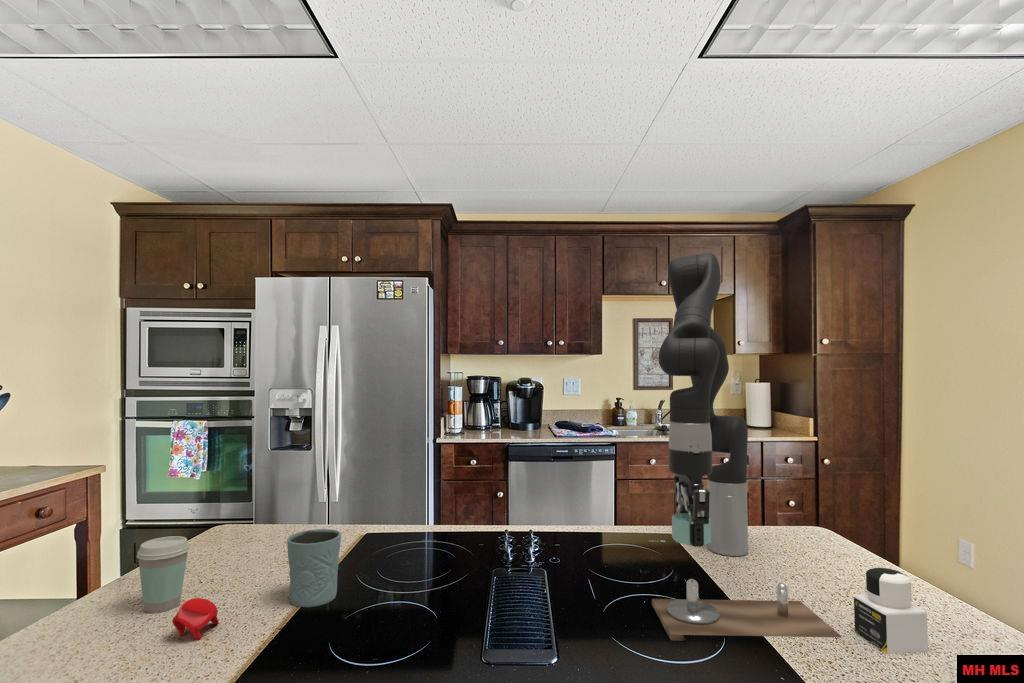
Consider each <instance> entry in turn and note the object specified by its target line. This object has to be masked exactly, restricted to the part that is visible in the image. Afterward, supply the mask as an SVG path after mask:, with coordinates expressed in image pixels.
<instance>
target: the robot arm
mask: <svg viewBox="0 0 1024 683" xmlns="http://www.w3.org/2000/svg"><path fill="white" fill-rule="evenodd" d="M667 276H668V282H669V285H670V286H669V287H670V289H671V294H672V297H673V302H674V306H675V307H676V308H675V309H676V311H675V314H674V319H673V327H672V329H671V330H670V331H669V333H668V334H667V336H666V337H665V338H664V340H663V341H662V343H661V346H660V348H659V352H658V364H659V367H660V369H661V370H662V372H664V373H665V374H666V375H668V376H672V377H690V381H691V384H692V386H690V387H685V388H680V389H679V388H678V389H675V390H673V391H671V393H670V395H669V428H668V470H669V472H670V473H672V474H675V475H673V481H674V482H673V484H674V506H675V508H677V514H678V513H689V522H690V544H691V545H690V546H692V547H698V548H699V547H704V546H705V545H704V525H705V524H709V519H710V520H711V543H708V544H707V545H708V549H709V550H710V551H711V552H713V553H715V554H718V555H722V556H723V555H724V556H731V557H732V556H733V557H741V556H745V555H747V554H749V532H748V531H749V527H748V524H749V522H748V521H749V520H748V515H749V514H748V484H747V483H748V480H747V479H748V476H747V475H748V474H747V473H748V445H749V444H748V442H749V440H748V439H749V435H748V434H749V432H748V425H747V421H746V420H745V418H743V417H741V416H735V415H733V416H732V415H719V414H718V415H717V414H715V412H714V403H715V400H716V397H717V395H718V393H719V391H720V389H721V388H722V386H723V385H724V382H726V381H725V380H727V379H726V378H727V377H728V375H729V374H728V373H729V370H730V369H729V368H730V366H729V358H728V354H727V348H726V344H725V342H724V341H723V339H722V337H721V336H720V335H719V333H717V331H715V329H714V328H713V327H712V326H711V325H712V324H711V322H712V314H713V309H714V305H715V303H716V300H717V298H718V296H719V292H720V287H721V283H722V278H721V277H722V276H721V267H720V263H719V261H718V258H717V256H716V255H715V254H713V253H712V252H707V253H706V252H703V253H698V254H692V255H685V256H682V257H677V258H673V259H671V260H670V261H669V263H668V264H667ZM713 452H714V453H723V454H729V459H728V460H727V461H725V462H723V463H719V464H715V465H713ZM704 476H706V478H707V481H706V482H707V483H706V484H707V489H706V488H705V485H704V483H703V477H704ZM698 514H700V516H698Z"/></svg>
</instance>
